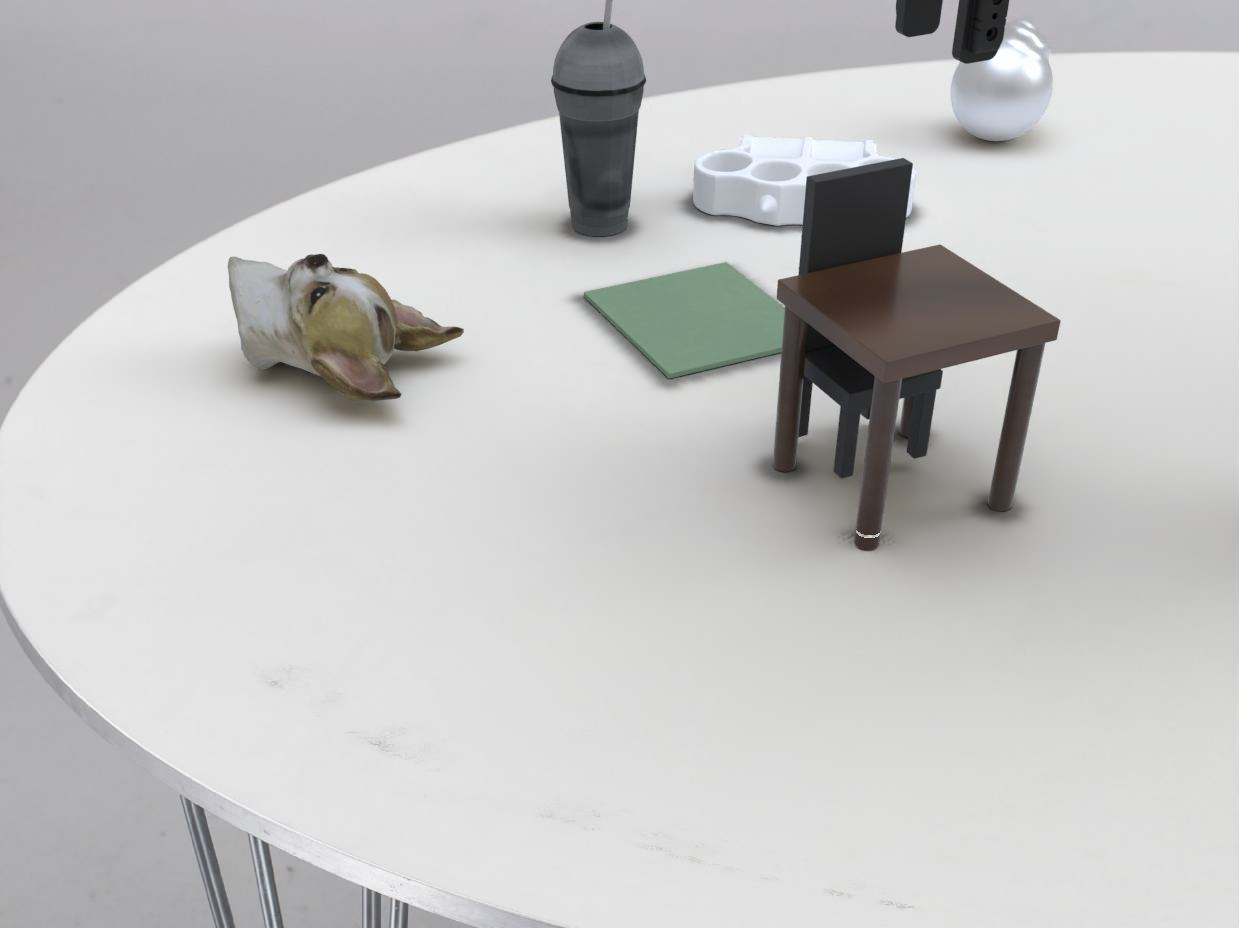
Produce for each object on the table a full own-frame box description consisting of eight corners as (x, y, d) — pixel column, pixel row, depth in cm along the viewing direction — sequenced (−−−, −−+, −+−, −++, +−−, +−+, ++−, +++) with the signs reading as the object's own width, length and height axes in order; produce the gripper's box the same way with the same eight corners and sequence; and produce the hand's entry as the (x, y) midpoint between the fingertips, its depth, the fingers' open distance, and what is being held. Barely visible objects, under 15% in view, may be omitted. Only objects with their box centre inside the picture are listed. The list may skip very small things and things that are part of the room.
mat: (822, 342, 101) (822, 337, 100) (668, 379, 97) (669, 373, 97) (726, 266, 111) (726, 261, 110) (583, 296, 107) (583, 291, 107)
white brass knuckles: (910, 172, 125) (911, 240, 114) (703, 162, 128) (685, 228, 116) (915, 133, 123) (917, 198, 112) (705, 124, 125) (686, 187, 114)
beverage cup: (572, 203, 121) (567, -56, 108) (655, 213, 119) (660, -49, 106) (541, 237, 115) (532, -32, 103) (628, 248, 113) (629, -24, 101)
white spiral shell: (1067, 149, 129) (1090, 32, 123) (971, 160, 127) (989, 42, 121) (1018, 116, 136) (1038, 3, 129) (926, 126, 134) (941, 12, 127)
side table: (1021, 508, 84) (1061, 319, 77) (861, 555, 81) (886, 362, 73) (914, 422, 92) (940, 243, 84) (763, 462, 89) (777, 279, 81)
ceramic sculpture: (268, 203, 99) (466, 247, 95) (281, 318, 104) (468, 364, 100) (179, 267, 91) (390, 317, 87) (198, 387, 97) (397, 439, 93)
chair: (930, 456, 87) (971, 196, 77) (839, 481, 85) (869, 217, 75) (871, 409, 92) (903, 157, 82) (784, 431, 90) (806, 175, 80)
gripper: (1194, -374, 56) (1101, 77, 67) (973, -394, 66) (924, 0, 77) (1037, -365, 54) (967, 101, 65) (834, -387, 64) (803, 19, 75)
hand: (944, 44), depth 71 cm, fingers open, 4 cm apart
